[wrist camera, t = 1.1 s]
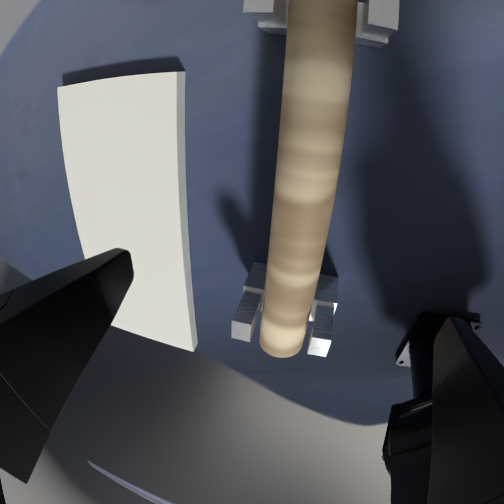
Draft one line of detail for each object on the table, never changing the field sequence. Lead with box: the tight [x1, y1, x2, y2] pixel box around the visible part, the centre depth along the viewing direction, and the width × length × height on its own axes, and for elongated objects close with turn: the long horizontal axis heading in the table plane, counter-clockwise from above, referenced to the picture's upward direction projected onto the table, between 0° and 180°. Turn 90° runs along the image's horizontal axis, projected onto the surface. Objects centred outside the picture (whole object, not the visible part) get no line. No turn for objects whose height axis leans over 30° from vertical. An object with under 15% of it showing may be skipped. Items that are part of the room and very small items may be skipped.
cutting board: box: [58, 71, 198, 351], centre depth 24 cm, size 25×11×1 cm, turn 177°
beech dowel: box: [259, 0, 358, 358], centre depth 15 cm, size 22×3×3 cm, turn 177°
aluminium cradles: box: [232, 0, 399, 357], centre depth 16 cm, size 20×6×6 cm, turn 177°
